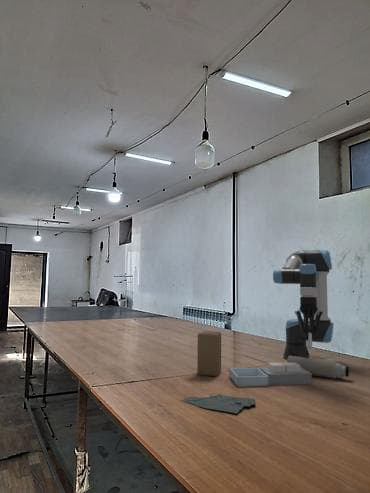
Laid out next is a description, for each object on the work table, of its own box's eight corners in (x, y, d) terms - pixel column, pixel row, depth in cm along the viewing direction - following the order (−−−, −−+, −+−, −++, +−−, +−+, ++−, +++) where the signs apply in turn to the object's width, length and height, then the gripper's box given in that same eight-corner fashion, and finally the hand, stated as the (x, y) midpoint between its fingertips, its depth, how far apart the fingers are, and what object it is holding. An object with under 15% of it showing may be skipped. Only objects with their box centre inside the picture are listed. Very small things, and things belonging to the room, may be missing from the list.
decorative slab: (204, 422, 120) (204, 416, 120) (176, 400, 142) (176, 394, 142) (270, 412, 130) (270, 406, 130) (234, 392, 152) (234, 387, 152)
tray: (257, 376, 176) (257, 367, 177) (268, 386, 161) (268, 376, 161) (229, 376, 175) (229, 368, 175) (237, 386, 159) (237, 377, 160)
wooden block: (221, 372, 184) (221, 331, 186) (216, 377, 175) (216, 334, 177) (202, 370, 187) (202, 330, 189) (196, 375, 178) (197, 333, 180)
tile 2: (294, 368, 174) (294, 362, 174) (300, 372, 168) (300, 365, 168) (282, 369, 173) (282, 362, 173) (287, 372, 167) (287, 365, 167)
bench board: (300, 376, 176) (300, 367, 177) (311, 383, 165) (311, 373, 165) (260, 377, 174) (260, 367, 175) (268, 384, 163) (268, 374, 163)
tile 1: (280, 369, 173) (280, 362, 173) (285, 372, 167) (285, 365, 167) (268, 369, 172) (268, 362, 173) (272, 372, 166) (272, 365, 167)
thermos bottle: (290, 373, 188) (349, 382, 172) (285, 369, 182) (346, 377, 167) (292, 358, 191) (350, 365, 176) (288, 353, 186) (347, 360, 170)
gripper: (317, 296, 179) (318, 345, 176) (292, 296, 177) (292, 345, 175) (325, 296, 171) (326, 348, 169) (298, 296, 170) (299, 348, 168)
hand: (309, 347), depth 172 cm, fingers closed
